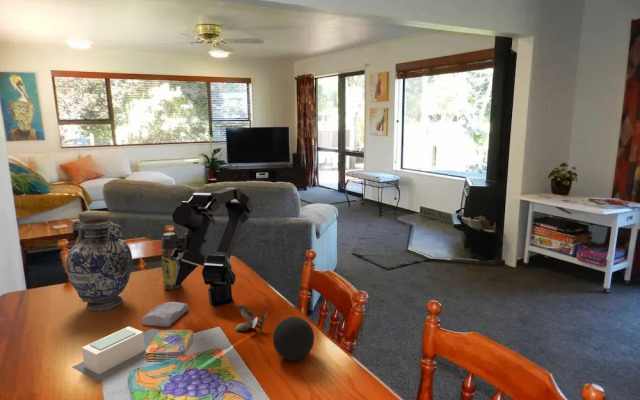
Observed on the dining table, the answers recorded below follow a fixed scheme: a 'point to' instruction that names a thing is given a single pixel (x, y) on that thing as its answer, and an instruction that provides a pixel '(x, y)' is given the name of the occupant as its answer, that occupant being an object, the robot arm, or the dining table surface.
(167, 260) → the sauce bottle
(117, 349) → the tall block
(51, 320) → the dining table surface
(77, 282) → the decorative vase
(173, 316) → the stone block
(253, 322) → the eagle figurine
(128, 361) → the mat
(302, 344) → the speaker
